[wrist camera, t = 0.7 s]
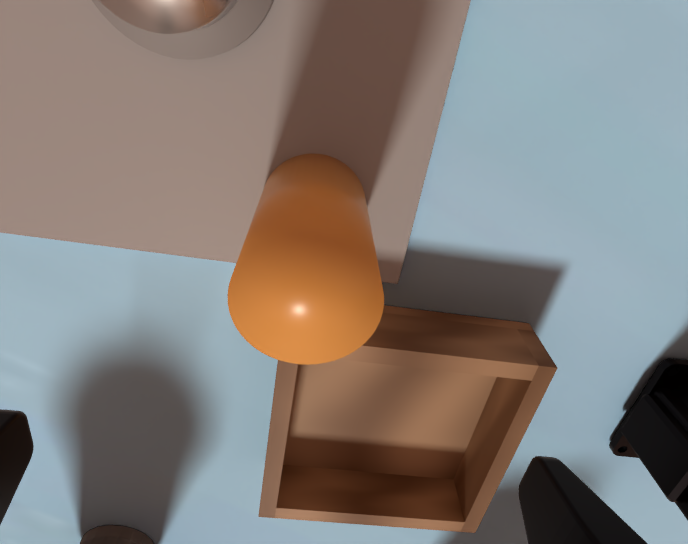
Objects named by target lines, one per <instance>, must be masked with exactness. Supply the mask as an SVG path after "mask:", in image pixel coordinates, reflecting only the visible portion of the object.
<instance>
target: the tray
mask: <svg viewBox="0 0 688 544" xmlns="http://www.w3.org/2000/svg"><path fill="white" fill-rule="evenodd" d="M556 370H557V367H556V365H555V363H554V362H553V360H552V359H551V357H550V356H549V354H548V352H547V351H546V349H545V348H544V346H543V345H542V343H541V341H540V340H539V338H538V337H537V335H536V334H535V332H534V330H533V329H532V327H531V326H530V324H529V323H523V322H515V321H507V320H499V319H491V318H483V317H475V316H467V315H459V314H451V313H442V312H434V311H426V310H418V309H410V308H402V307H394V306H386V305H384V308H383V314H382V317H381V320H380V322H379V324H378V326H377V328H376V330H375V332H374V333H373V334H372V336H371V337H370V338H369V339H368V340H367V341H366V343H364V344H363V345H362V346H361V347H360V348H358V349H357V350H355V351H354V352H352V353H351V354H349V355H347V356H345V357H343V358H340V359H337V360H335V361H331V362H327V363H321V364H309V365H305V364H294V363H288V362H284V361H280V360H278V364H277V372H276V380H275V388H274V397H273V405H272V413H271V421H270V429H269V437H268V445H267V453H266V461H265V469H264V477H263V485H262V493H261V501H260V509H259V517H269V518H282V519H296V520H309V521H323V522H336V523H350V524H363V525H377V526H390V527H404V528H417V529H430V530H444V531H457V532H471V533H475V532H476V530H477V528H478V526H479V524H480V522H481V520H482V518H483V516H484V514H485V512H486V510H487V508H488V506H489V504H490V502H491V500H492V498H493V496H494V494H495V492H496V490H497V488H498V486H499V484H500V482H501V480H502V478H503V476H504V474H505V472H506V470H507V468H508V466H509V464H510V462H511V460H512V458H513V456H514V454H515V452H516V450H517V448H518V446H519V444H520V442H521V440H522V438H523V436H524V434H525V432H526V430H527V428H528V426H529V424H530V422H531V420H532V418H533V416H534V414H535V412H536V410H537V408H538V406H539V404H540V402H541V400H542V398H543V396H544V394H545V392H546V390H547V388H548V386H549V384H550V382H551V380H552V378H553V376H554V374H555V372H556Z"/></svg>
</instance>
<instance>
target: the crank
mask: <svg viewBox="0 0 688 544" xmlns="http://www.w3.org/2000/svg"><path fill="white" fill-rule="evenodd" d="M99 1H100V2H101V3H102V4H103V5H104V6H105V7H107V8H108V9H109V10H110V11H111V12H112V13H114V14H115V15H116V16H118V17H119V18H121V19H122V20H124V21H126V22H127V23H129V24H131V25H133V26H135V27H138V28H140V29H143V30H146V31H150V32H154V33H162V34H178V33H184V32H190V31H195V30H200V29H203V28H206V27H209V26H211V25H213V24H214V23H216V22H218V21H219V20H220V19H222V18H223V17H224V16H226V14H227V13H228V12H229V11H230V10H231V9H232V8H233V7H234V5H235V4H236V2H237V1H238V0H99Z"/></svg>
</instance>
